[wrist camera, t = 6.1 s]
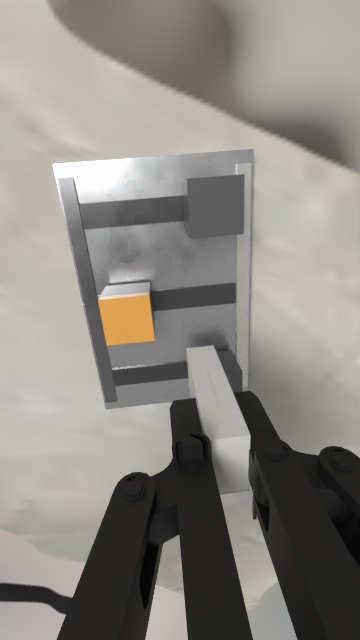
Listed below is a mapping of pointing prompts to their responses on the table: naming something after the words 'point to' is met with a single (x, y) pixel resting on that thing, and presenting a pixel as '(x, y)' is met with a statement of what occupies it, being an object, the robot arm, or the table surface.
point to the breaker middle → (127, 313)
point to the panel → (158, 267)
